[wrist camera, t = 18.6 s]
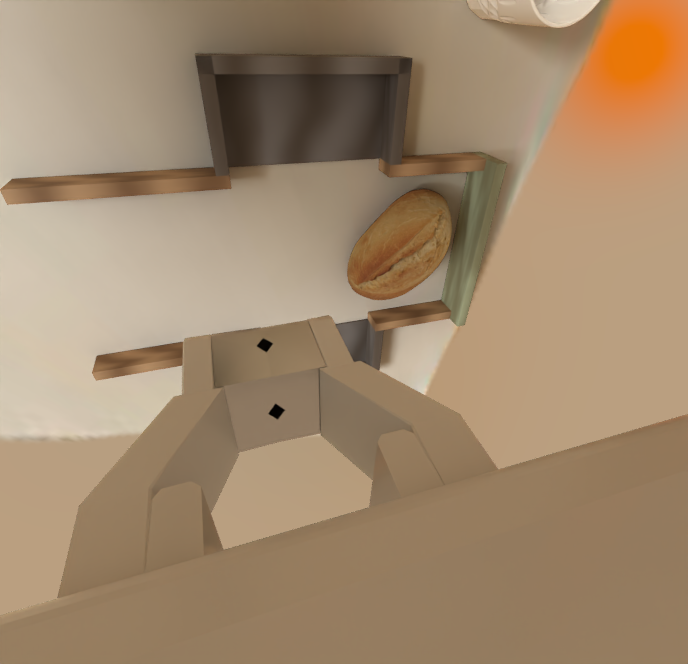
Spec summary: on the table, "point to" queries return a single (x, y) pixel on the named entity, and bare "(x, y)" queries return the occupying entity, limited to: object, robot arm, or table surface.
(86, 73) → the table surface
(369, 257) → the bread roll
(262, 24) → the table surface
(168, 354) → the box
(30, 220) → the table surface
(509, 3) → the white cup
